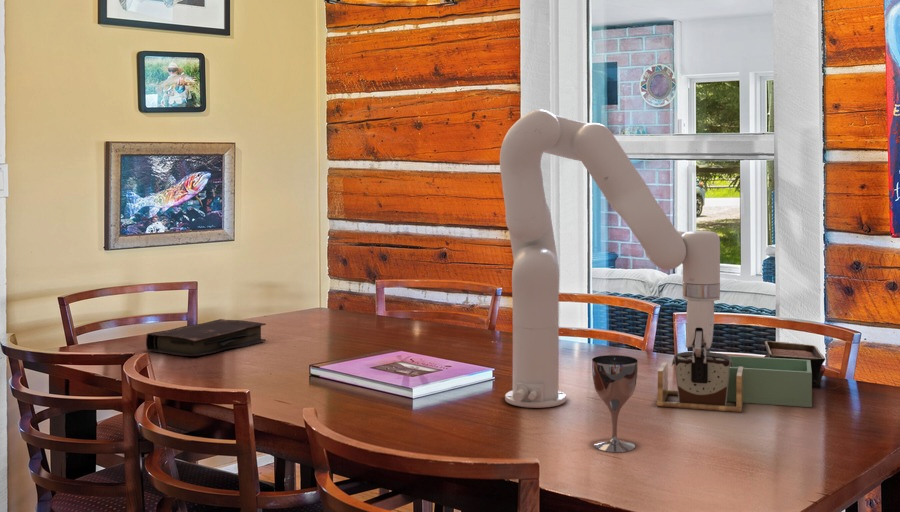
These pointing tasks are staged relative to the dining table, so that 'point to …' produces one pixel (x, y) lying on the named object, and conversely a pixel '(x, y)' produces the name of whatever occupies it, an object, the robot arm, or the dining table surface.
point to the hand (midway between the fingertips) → (701, 377)
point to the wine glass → (614, 392)
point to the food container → (703, 392)
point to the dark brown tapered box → (798, 356)
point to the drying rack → (664, 392)
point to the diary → (205, 337)
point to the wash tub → (772, 381)
